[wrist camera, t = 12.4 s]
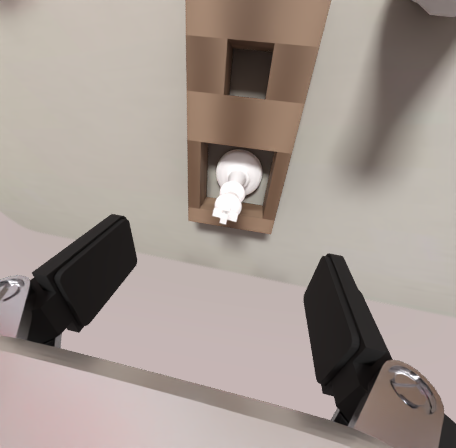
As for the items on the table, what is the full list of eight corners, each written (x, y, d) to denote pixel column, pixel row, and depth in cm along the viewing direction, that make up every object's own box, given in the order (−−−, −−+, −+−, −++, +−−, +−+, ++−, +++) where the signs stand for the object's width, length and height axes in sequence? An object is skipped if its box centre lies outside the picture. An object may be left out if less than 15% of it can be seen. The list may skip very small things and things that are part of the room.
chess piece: (221, 143, 20) (190, 175, 12) (268, 156, 20) (272, 196, 12) (212, 188, 23) (183, 240, 14) (254, 199, 23) (249, 258, 14)
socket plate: (323, 2, 14) (336, -19, 12) (270, 219, 24) (270, 234, 21) (198, -7, 15) (185, -29, 12) (196, 208, 24) (188, 220, 22)
